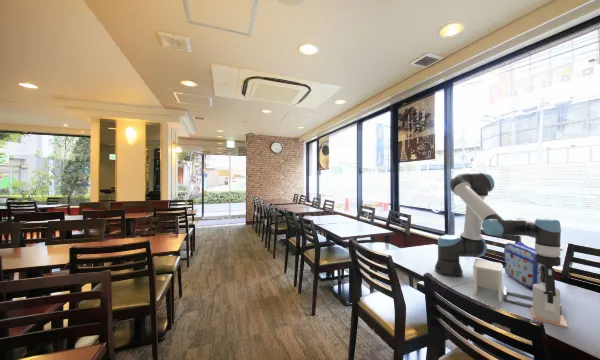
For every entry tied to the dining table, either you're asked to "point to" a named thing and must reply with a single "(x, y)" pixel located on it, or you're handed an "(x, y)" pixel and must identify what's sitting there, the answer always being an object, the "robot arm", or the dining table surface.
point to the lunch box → (522, 264)
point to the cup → (540, 303)
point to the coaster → (558, 323)
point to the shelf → (487, 276)
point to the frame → (519, 296)
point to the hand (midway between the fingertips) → (547, 303)
